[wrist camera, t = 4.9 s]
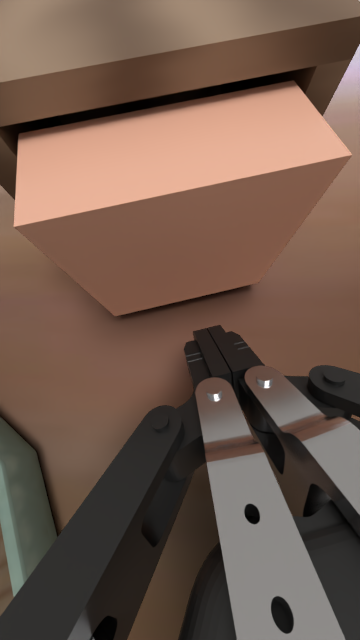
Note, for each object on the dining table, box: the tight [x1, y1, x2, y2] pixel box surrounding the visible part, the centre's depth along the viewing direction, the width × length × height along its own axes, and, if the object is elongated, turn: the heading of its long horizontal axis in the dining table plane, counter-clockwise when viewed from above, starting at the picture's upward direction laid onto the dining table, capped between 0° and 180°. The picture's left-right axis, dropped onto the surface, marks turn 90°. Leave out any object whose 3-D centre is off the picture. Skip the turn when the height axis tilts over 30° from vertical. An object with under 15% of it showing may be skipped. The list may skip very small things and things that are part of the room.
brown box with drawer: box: [0, 0, 360, 200], centre depth 14 cm, size 16×12×12 cm
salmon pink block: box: [14, 80, 352, 316], centre depth 12 cm, size 12×10×9 cm
